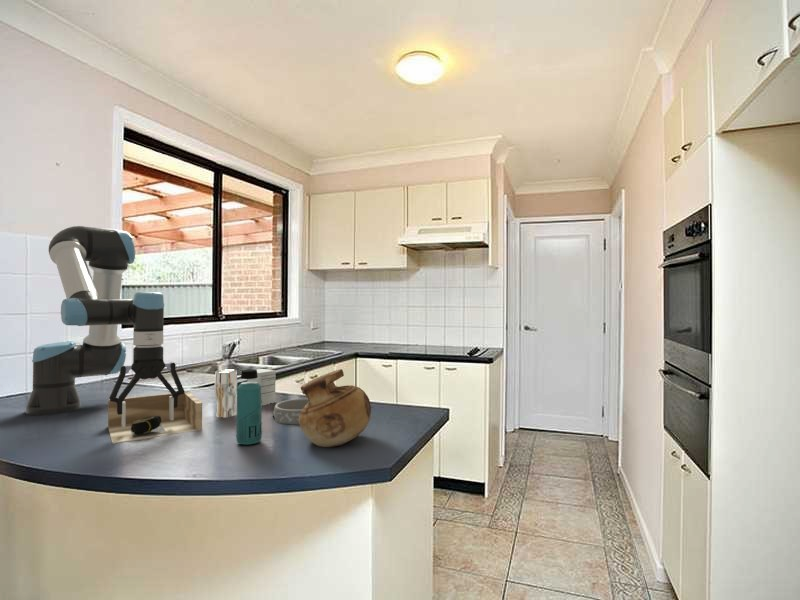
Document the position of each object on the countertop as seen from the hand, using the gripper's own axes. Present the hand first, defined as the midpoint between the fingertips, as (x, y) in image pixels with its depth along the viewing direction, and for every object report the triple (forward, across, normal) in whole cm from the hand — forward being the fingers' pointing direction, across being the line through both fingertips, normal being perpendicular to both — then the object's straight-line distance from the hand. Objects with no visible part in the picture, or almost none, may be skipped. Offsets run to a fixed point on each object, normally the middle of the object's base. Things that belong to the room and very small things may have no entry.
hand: (148, 422), depth 129 cm
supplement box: (+3, +38, +16) cm, 41 cm away
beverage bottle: (+3, +20, -28) cm, 35 cm away
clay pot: (+3, +39, -40) cm, 56 cm away
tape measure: (+2, +2, -1) cm, 3 cm away
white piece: (+3, +23, +6) cm, 24 cm away
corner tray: (+3, +2, +3) cm, 5 cm away
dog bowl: (+4, +42, -10) cm, 43 cm away
